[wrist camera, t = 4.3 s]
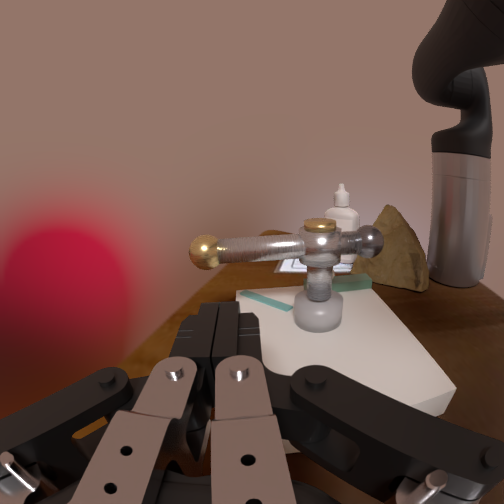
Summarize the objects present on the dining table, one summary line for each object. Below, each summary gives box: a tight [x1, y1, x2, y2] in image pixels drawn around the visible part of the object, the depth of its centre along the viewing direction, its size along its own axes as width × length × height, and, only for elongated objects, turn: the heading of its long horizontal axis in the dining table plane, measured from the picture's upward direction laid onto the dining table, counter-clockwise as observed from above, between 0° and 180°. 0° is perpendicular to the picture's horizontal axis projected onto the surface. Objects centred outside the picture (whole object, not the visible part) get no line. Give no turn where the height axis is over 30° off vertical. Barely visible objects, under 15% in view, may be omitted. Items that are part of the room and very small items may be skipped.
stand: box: [236, 270, 457, 454], centre depth 21 cm, size 14×18×5 cm
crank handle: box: [189, 218, 384, 301], centre depth 21 cm, size 15×3×6 cm, turn 91°
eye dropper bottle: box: [324, 184, 360, 264], centre depth 42 cm, size 4×6×12 cm
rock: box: [350, 205, 429, 292], centre depth 33 cm, size 11×9×10 cm
